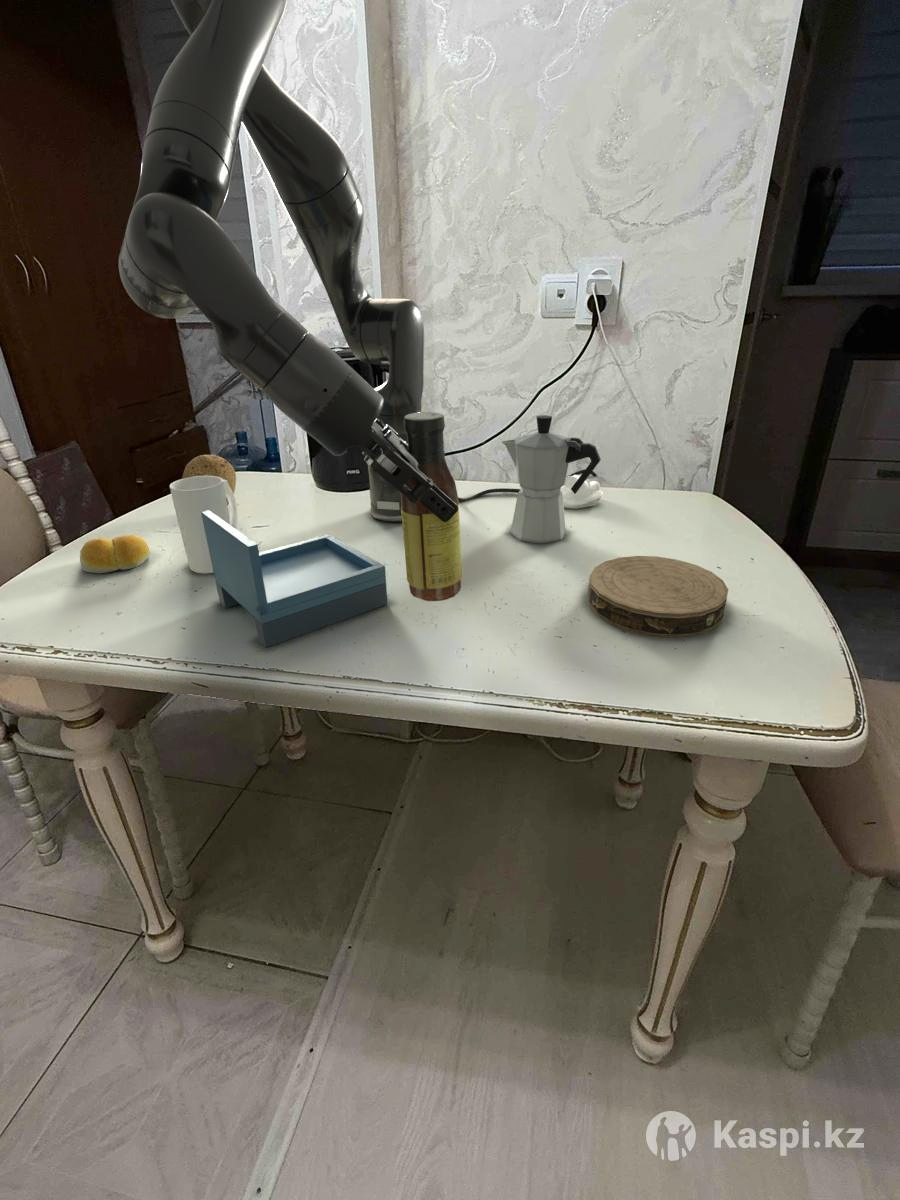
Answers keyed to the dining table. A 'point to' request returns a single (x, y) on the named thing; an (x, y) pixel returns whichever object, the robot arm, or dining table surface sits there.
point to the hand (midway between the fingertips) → (446, 504)
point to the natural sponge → (211, 469)
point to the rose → (580, 493)
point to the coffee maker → (545, 480)
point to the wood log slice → (657, 596)
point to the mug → (190, 503)
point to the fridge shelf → (292, 581)
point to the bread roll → (113, 554)
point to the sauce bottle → (430, 516)
